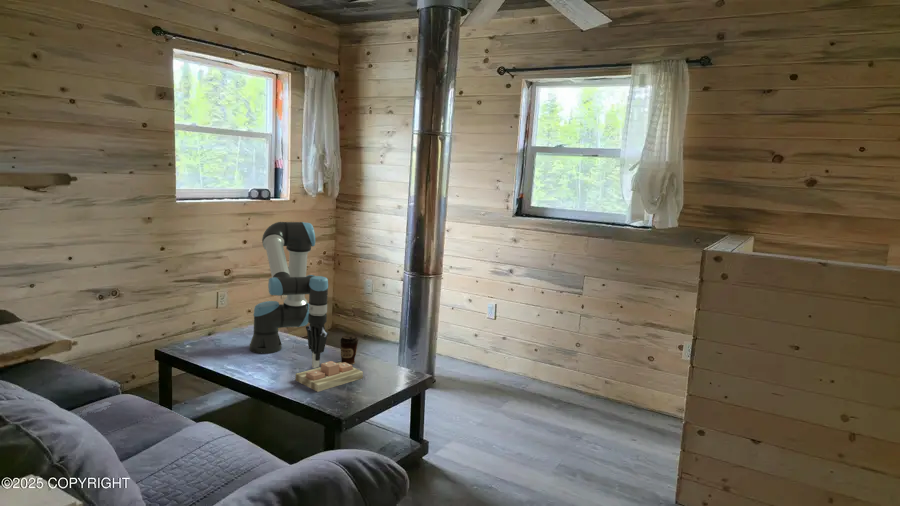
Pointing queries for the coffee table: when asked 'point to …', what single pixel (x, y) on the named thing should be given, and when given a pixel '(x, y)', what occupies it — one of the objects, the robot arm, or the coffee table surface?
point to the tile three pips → (345, 367)
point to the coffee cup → (348, 349)
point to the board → (329, 379)
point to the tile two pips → (330, 368)
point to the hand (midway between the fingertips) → (315, 366)
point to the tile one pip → (315, 375)
